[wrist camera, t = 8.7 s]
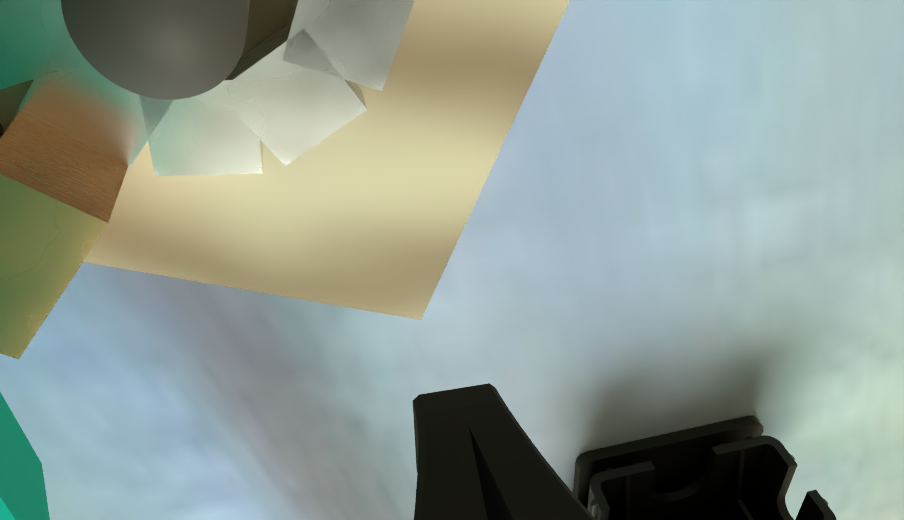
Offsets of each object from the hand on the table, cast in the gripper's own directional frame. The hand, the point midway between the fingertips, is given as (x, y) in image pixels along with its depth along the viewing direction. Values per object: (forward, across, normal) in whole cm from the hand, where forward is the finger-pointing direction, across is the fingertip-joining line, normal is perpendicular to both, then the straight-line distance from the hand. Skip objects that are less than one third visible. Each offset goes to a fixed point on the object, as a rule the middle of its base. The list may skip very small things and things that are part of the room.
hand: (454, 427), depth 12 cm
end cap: (+11, -12, +19) cm, 25 cm away
